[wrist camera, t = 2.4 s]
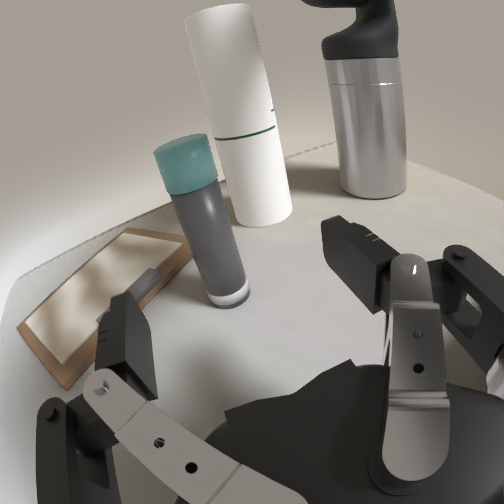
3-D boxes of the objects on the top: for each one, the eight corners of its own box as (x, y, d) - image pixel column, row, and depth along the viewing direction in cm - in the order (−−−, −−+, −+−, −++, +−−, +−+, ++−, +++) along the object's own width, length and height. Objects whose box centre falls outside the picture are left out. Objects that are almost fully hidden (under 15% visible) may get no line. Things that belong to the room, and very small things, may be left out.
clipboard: (129, 232, 43) (124, 221, 42) (205, 244, 35) (200, 231, 34) (19, 332, 29) (11, 322, 28) (67, 390, 21) (54, 379, 20)
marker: (224, 276, 30) (178, 136, 22) (258, 284, 28) (217, 131, 20) (202, 303, 27) (142, 156, 19) (236, 314, 25) (181, 151, 17)
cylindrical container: (294, 196, 40) (255, 8, 26) (289, 225, 35) (240, -1, 21) (243, 201, 42) (197, 24, 28) (230, 229, 37) (171, 20, 23)
